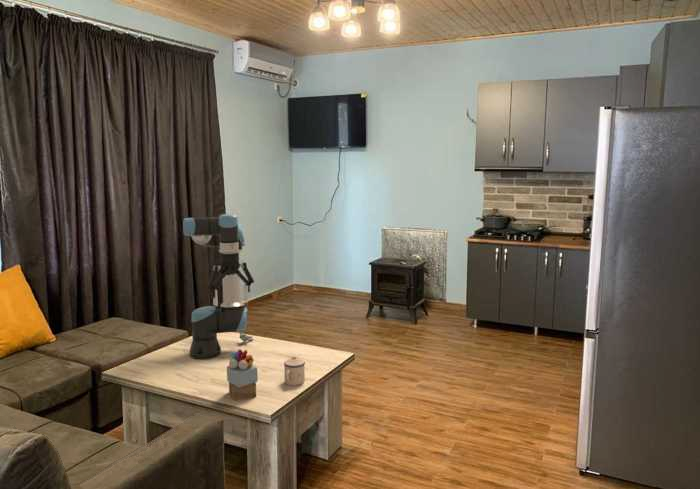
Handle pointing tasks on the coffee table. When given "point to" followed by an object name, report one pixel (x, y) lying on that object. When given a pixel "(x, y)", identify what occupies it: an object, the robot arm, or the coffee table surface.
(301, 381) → the teacup with lid
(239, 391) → the walnut brick
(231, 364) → the rainbow petal toy
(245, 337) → the elephant figurine
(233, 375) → the gray brick
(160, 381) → the coffee table surface
